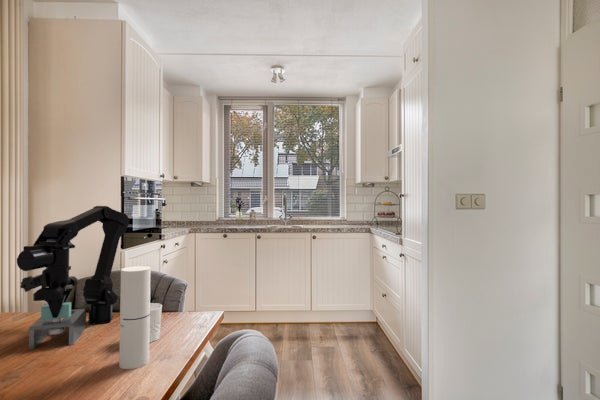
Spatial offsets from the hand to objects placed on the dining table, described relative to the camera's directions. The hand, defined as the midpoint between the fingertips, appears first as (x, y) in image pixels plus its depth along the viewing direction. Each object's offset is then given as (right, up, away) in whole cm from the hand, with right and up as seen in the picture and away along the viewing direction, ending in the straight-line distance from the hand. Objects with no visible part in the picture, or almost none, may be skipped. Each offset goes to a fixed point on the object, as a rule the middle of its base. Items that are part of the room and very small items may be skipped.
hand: (56, 315), depth 103 cm
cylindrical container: (+30, -8, -13) cm, 34 cm away
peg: (0, -5, 0) cm, 5 cm away
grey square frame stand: (-1, -8, +3) cm, 8 cm away
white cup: (+26, -8, +3) cm, 28 cm away
